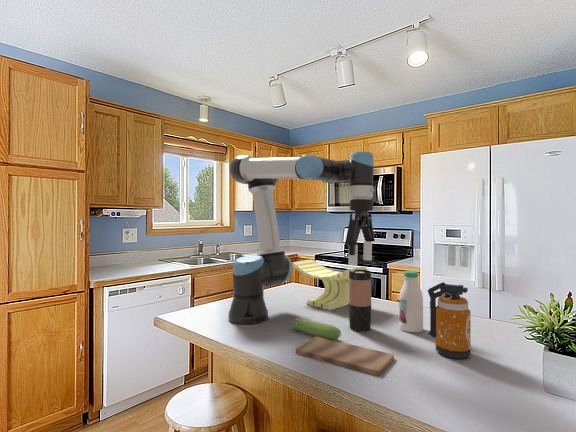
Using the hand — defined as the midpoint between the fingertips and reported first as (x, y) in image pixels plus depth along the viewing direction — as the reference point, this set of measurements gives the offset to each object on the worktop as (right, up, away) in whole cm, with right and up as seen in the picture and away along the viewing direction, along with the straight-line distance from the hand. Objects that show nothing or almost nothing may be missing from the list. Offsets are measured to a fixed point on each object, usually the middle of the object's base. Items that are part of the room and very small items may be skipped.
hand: (360, 262), depth 112 cm
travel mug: (+1, -24, +5) cm, 24 cm away
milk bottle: (+18, -24, +4) cm, 30 cm away
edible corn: (-15, -24, -1) cm, 29 cm away
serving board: (-9, -24, -18) cm, 31 cm away
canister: (+22, -24, -15) cm, 36 cm away
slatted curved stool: (-6, -24, +38) cm, 45 cm away
